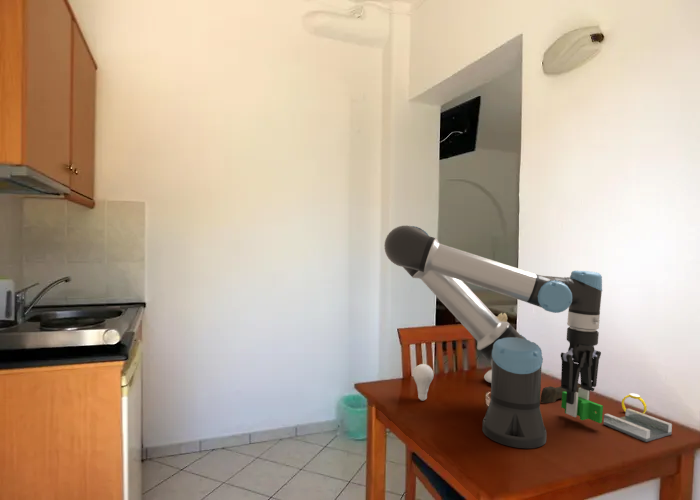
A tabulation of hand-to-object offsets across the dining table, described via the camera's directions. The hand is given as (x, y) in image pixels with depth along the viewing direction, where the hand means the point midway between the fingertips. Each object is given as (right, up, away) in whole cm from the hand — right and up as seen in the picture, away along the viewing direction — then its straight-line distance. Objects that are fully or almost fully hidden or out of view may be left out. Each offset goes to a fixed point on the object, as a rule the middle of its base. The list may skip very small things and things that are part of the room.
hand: (576, 413), depth 119 cm
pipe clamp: (0, -1, 0) cm, 1 cm away
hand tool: (+5, -3, +18) cm, 19 cm away
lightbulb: (-40, -1, +14) cm, 42 cm away
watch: (+20, -3, +7) cm, 22 cm away
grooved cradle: (+14, -3, -3) cm, 15 cm away
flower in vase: (-10, -2, +30) cm, 32 cm away
